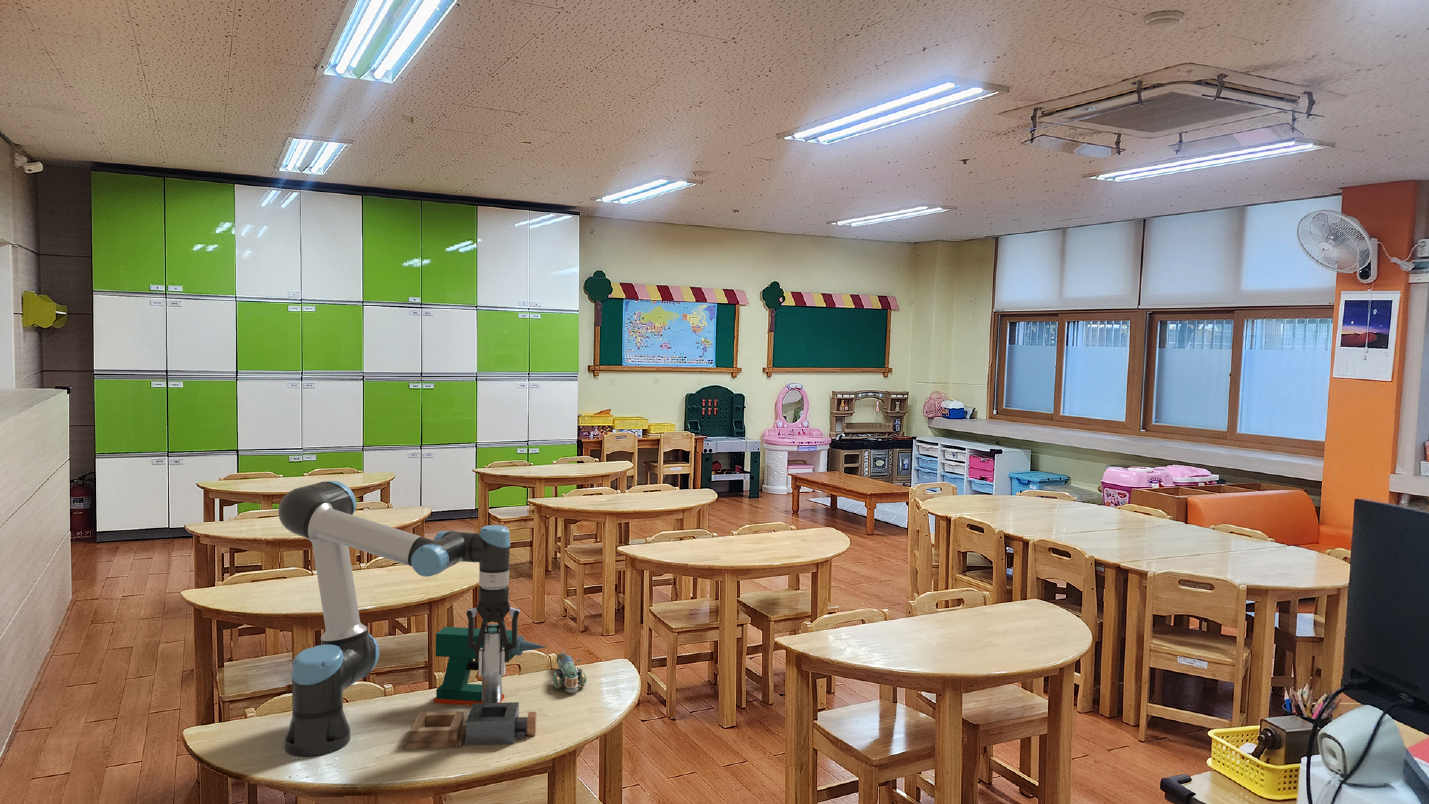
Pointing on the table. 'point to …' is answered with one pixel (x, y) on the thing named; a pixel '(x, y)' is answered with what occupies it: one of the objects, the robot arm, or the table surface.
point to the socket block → (492, 724)
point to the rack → (437, 730)
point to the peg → (492, 664)
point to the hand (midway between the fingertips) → (492, 674)
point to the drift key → (527, 724)
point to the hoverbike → (568, 673)
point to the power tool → (465, 665)
